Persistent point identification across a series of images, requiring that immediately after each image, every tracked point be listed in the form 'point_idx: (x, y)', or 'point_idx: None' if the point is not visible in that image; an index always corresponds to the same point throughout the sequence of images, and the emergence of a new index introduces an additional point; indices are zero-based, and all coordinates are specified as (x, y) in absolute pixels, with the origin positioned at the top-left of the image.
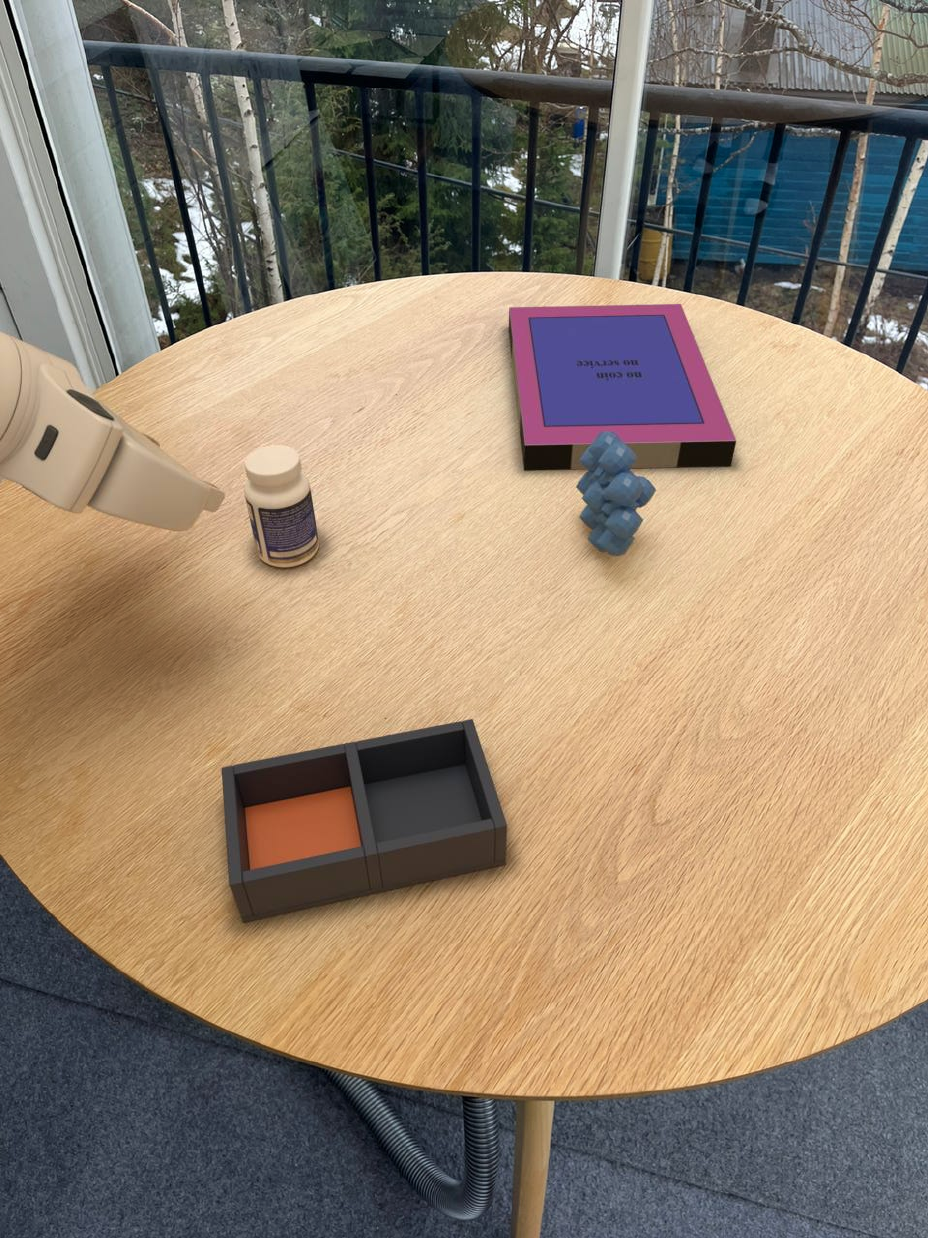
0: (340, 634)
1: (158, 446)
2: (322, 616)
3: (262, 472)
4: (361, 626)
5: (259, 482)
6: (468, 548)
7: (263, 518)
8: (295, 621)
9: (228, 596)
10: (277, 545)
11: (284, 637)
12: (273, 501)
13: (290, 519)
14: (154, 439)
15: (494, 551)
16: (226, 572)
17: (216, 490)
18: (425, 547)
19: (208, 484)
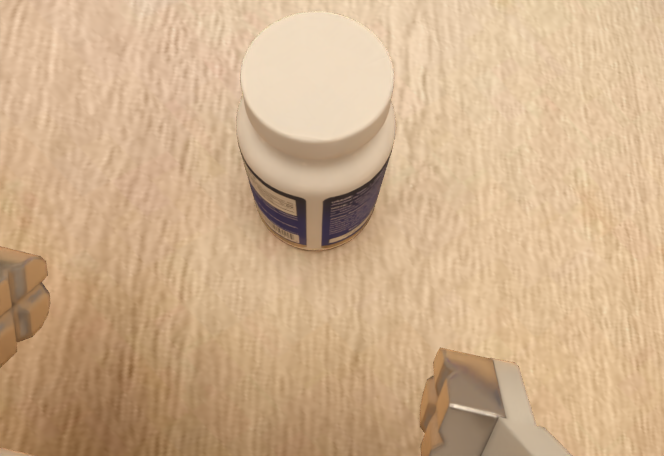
0: (555, 321)
1: (42, 265)
2: (496, 302)
3: (341, 129)
4: (569, 284)
5: (334, 154)
6: (566, 43)
7: (333, 208)
8: (466, 340)
9: (309, 360)
10: (349, 226)
11: None
12: (364, 172)
13: (381, 177)
14: (5, 251)
15: (603, 30)
16: (255, 308)
17: (525, 394)
18: (509, 74)
19: (489, 395)
